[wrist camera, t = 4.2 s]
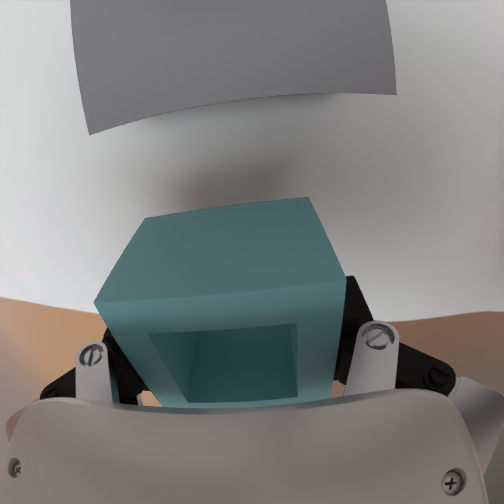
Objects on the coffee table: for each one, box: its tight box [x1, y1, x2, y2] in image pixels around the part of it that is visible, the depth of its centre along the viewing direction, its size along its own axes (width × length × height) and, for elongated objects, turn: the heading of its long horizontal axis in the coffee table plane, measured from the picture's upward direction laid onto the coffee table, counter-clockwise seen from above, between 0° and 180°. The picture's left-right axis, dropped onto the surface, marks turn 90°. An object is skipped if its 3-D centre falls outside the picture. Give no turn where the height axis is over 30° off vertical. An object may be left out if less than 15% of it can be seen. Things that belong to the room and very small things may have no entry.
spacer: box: [94, 197, 347, 408], centre depth 10 cm, size 6×6×5 cm
